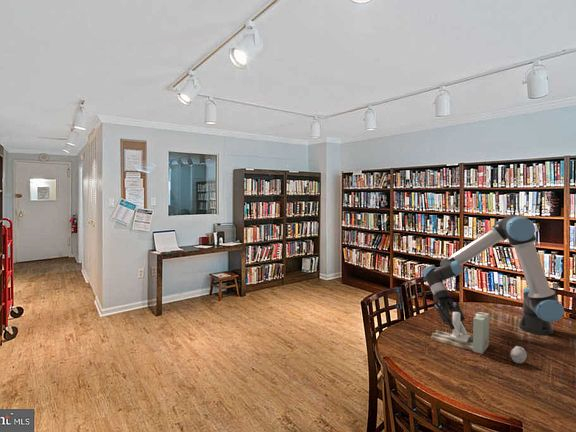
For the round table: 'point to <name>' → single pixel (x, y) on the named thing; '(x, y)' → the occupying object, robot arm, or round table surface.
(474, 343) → the gauge cabinet
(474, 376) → the round table surface
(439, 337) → the rail track
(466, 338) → the carriage
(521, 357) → the grey round lump
